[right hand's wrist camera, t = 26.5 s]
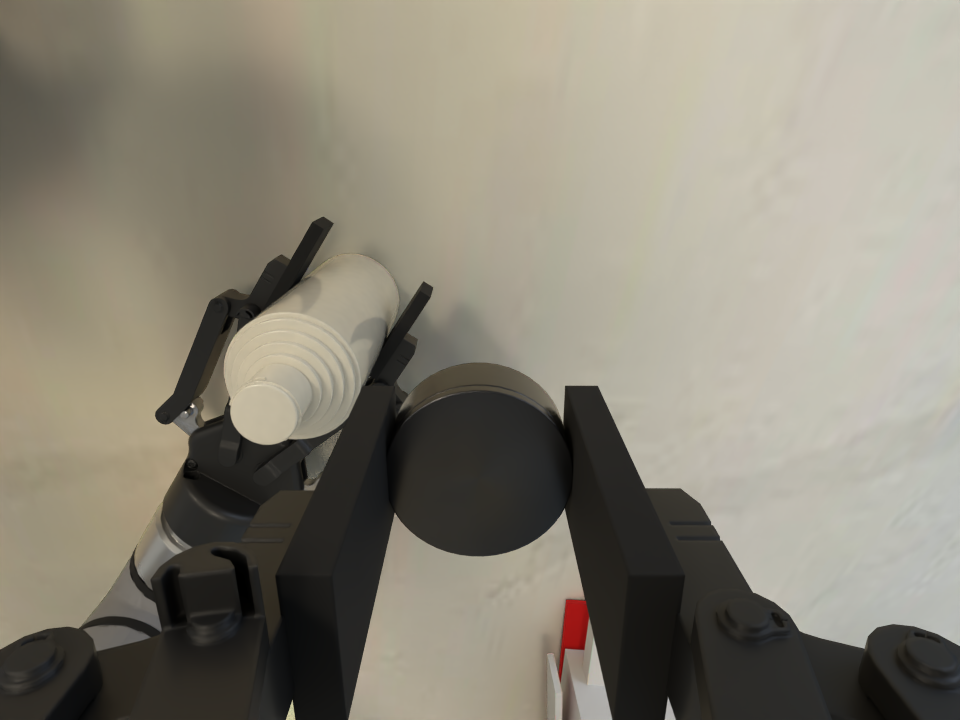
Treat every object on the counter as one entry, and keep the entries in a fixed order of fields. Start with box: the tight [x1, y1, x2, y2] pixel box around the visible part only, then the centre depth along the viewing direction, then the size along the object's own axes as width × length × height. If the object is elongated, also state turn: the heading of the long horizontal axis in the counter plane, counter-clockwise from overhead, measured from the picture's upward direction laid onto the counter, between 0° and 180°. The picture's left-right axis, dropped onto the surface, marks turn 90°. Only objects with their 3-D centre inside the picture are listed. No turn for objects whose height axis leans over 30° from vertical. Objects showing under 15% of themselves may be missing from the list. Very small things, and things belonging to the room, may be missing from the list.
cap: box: [386, 363, 573, 556], centre depth 14 cm, size 4×4×2 cm
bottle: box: [224, 254, 399, 445], centre depth 36 cm, size 7×7×20 cm
